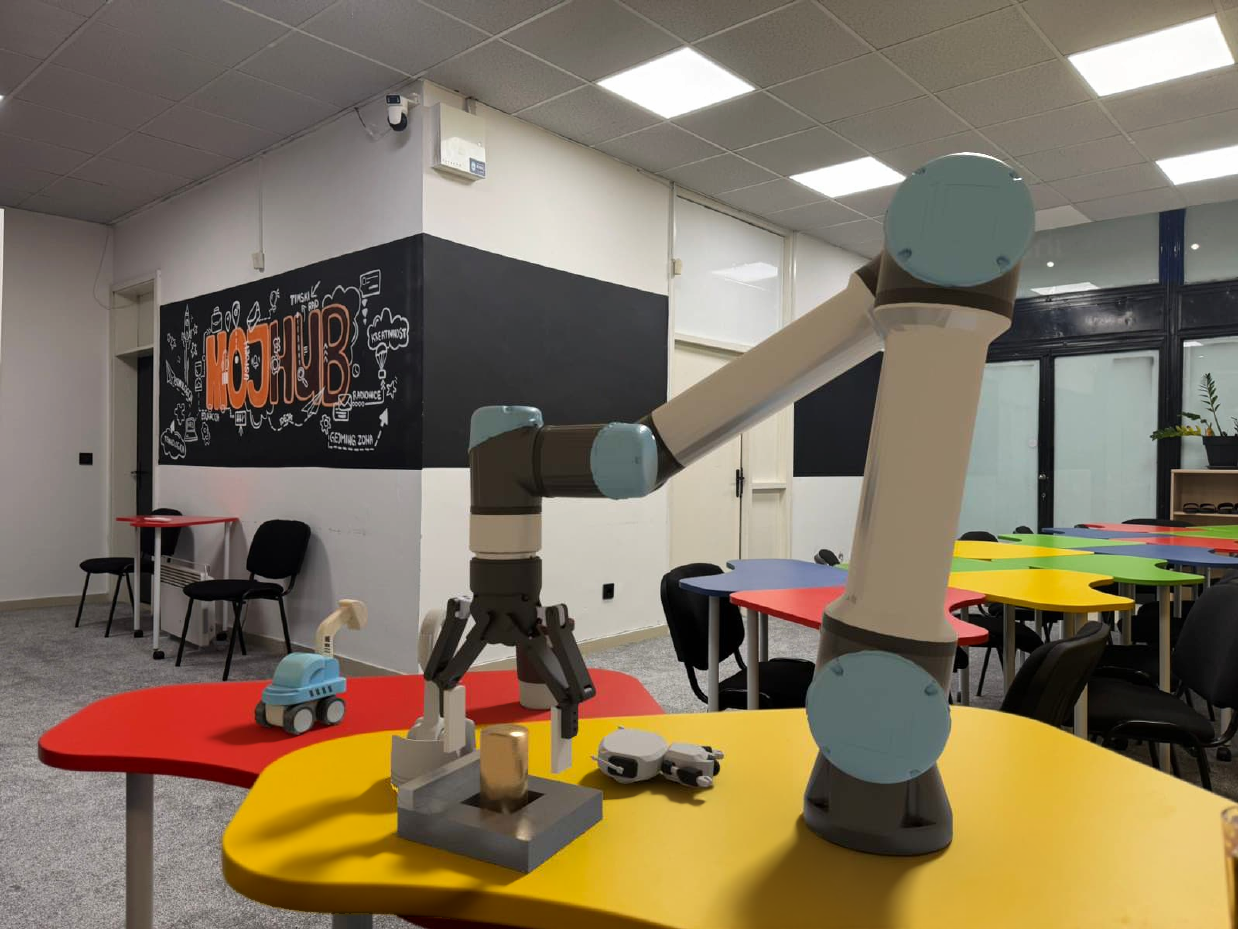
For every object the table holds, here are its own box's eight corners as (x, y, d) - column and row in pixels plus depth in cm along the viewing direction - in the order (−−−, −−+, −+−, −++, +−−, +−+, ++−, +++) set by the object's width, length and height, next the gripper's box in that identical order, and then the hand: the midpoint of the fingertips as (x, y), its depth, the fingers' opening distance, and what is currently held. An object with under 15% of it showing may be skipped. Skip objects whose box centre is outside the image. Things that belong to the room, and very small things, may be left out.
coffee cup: (512, 696, 138) (513, 605, 138) (572, 695, 139) (573, 605, 139) (511, 713, 128) (512, 615, 128) (575, 712, 129) (576, 615, 129)
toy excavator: (381, 712, 128) (382, 600, 128) (286, 741, 114) (288, 615, 114) (344, 703, 133) (345, 595, 133) (248, 730, 119) (250, 609, 119)
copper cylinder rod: (536, 823, 88) (537, 728, 88) (509, 841, 83) (510, 741, 83) (498, 814, 90) (499, 721, 90) (469, 831, 86) (470, 733, 86)
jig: (602, 818, 89) (602, 772, 89) (528, 873, 77) (528, 819, 77) (482, 790, 97) (482, 747, 97) (397, 836, 84) (397, 787, 84)
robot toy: (725, 774, 106) (612, 754, 110) (728, 738, 105) (614, 719, 109) (710, 812, 94) (583, 787, 98) (713, 772, 94) (586, 749, 98)
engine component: (374, 793, 96) (456, 801, 94) (377, 615, 96) (459, 618, 94) (416, 761, 106) (490, 768, 104) (418, 601, 107) (492, 604, 104)
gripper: (628, 556, 84) (629, 767, 84) (436, 547, 96) (436, 732, 96) (591, 563, 78) (591, 792, 77) (390, 552, 90) (390, 751, 89)
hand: (506, 759), depth 87 cm, fingers open, 13 cm apart
